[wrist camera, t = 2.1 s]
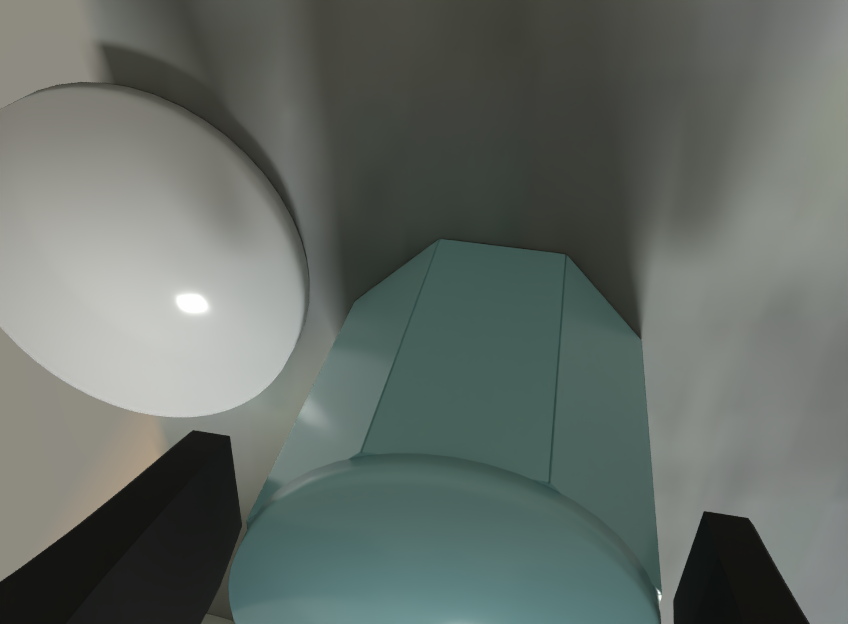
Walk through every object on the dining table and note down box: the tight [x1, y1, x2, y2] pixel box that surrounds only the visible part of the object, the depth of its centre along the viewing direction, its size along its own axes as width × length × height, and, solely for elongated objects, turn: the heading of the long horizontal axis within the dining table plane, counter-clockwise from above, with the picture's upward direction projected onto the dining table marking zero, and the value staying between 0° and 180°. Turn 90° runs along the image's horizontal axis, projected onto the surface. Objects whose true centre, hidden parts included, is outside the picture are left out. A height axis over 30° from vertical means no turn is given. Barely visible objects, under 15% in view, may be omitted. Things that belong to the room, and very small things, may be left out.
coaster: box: [0, 82, 309, 417], centre depth 15 cm, size 7×7×1 cm
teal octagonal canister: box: [228, 239, 662, 624], centre depth 13 cm, size 6×6×6 cm
